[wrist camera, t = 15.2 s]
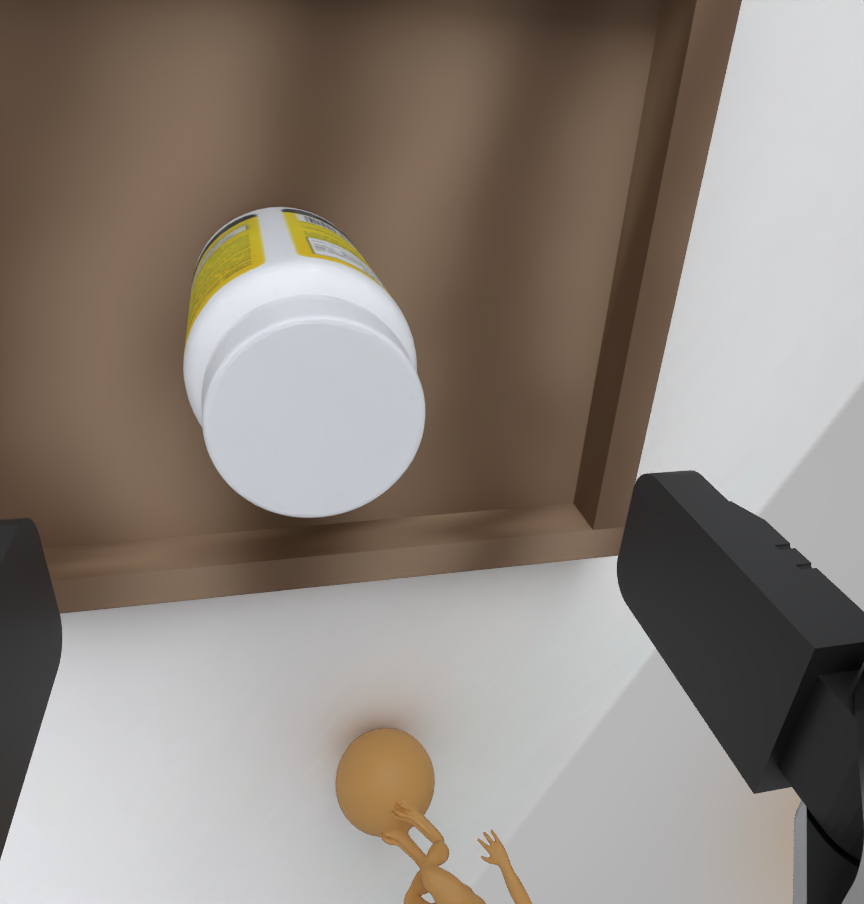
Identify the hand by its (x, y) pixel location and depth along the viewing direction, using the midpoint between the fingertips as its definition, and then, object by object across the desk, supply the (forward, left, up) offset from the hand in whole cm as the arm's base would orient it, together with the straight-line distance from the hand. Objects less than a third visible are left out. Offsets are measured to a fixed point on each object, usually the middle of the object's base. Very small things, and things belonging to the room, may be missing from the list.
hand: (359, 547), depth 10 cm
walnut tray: (0, 0, -13) cm, 13 cm away
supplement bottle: (0, 0, -12) cm, 12 cm away
